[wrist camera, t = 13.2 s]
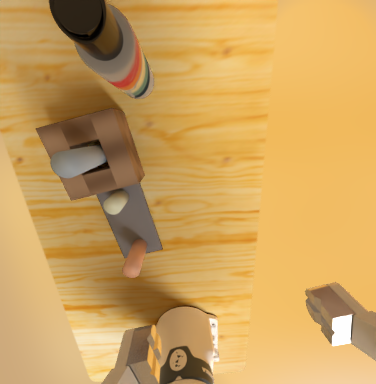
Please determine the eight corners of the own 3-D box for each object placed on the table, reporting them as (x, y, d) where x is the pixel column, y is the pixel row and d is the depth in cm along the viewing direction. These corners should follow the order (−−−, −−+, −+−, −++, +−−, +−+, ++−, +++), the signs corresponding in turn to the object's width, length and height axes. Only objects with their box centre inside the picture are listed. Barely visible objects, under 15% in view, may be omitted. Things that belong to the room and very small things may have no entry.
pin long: (119, 158, 35) (83, 175, 22) (102, 161, 35) (57, 180, 22) (113, 141, 34) (72, 148, 21) (97, 145, 34) (45, 154, 21)
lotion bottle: (120, 96, 32) (35, 47, 13) (121, 58, 30) (25, -64, 11) (153, 102, 32) (117, 62, 13) (155, 65, 31) (119, -41, 12)
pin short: (131, 201, 38) (124, 212, 33) (116, 205, 38) (107, 216, 33) (125, 187, 37) (117, 196, 32) (110, 191, 37) (100, 200, 32)
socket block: (144, 175, 36) (138, 183, 31) (87, 189, 37) (71, 200, 31) (123, 111, 33) (112, 107, 27) (60, 128, 33) (35, 128, 27)
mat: (162, 248, 42) (162, 249, 42) (125, 257, 42) (124, 258, 42) (138, 179, 37) (138, 179, 36) (95, 190, 37) (95, 190, 37)
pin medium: (149, 249, 42) (142, 275, 34) (135, 252, 42) (126, 279, 34) (144, 237, 41) (136, 262, 33) (130, 240, 41) (119, 266, 33)
